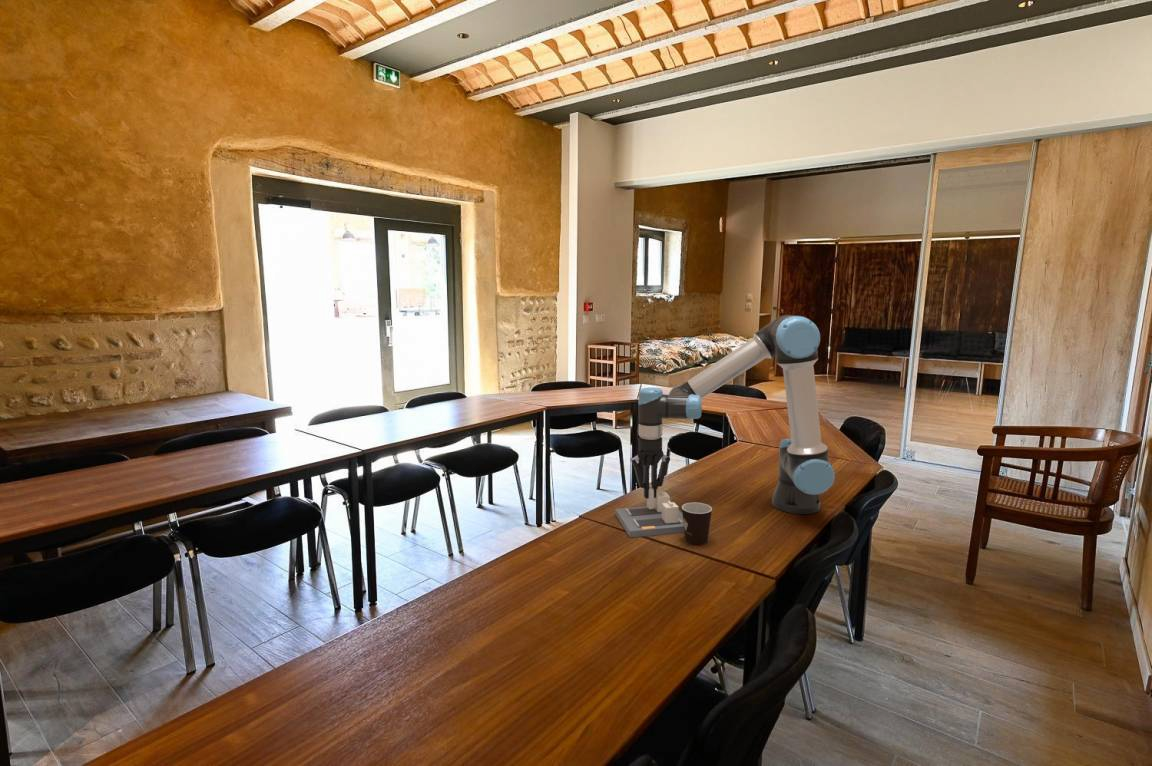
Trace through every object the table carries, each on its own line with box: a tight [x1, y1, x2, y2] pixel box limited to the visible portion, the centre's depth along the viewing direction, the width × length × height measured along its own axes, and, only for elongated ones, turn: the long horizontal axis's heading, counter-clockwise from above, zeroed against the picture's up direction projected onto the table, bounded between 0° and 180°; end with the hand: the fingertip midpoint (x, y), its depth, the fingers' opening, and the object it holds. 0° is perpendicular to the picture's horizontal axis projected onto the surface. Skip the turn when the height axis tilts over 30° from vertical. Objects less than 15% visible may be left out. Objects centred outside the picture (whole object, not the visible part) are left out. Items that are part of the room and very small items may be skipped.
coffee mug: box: [681, 502, 713, 546], centre depth 166 cm, size 12×9×10 cm
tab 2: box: [662, 500, 680, 523], centre depth 174 cm, size 4×4×6 cm
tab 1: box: [654, 490, 671, 512], centre depth 183 cm, size 4×4×6 cm
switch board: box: [614, 505, 685, 539], centre depth 179 cm, size 20×18×3 cm
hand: (650, 507), depth 183 cm, fingers closed
